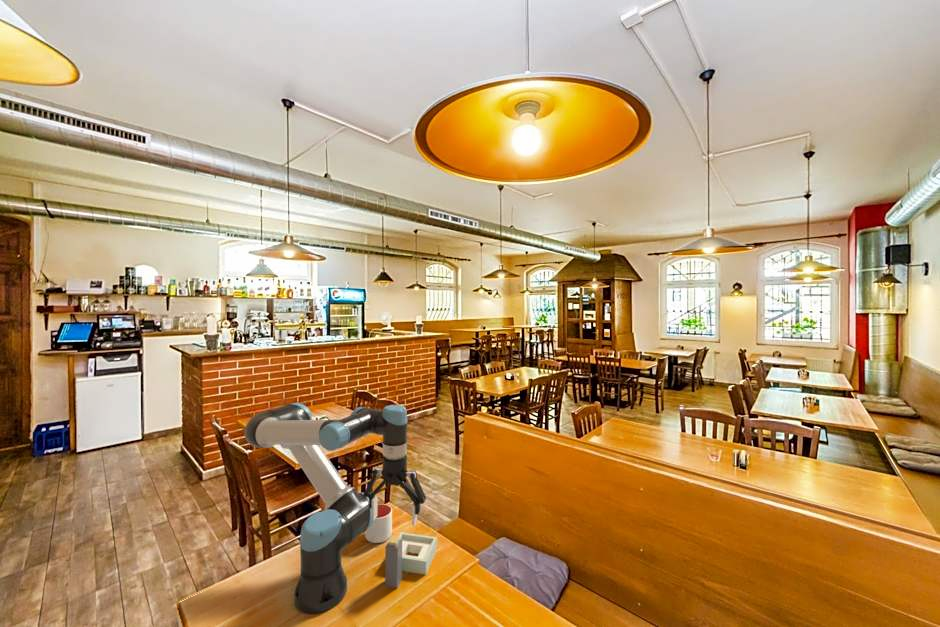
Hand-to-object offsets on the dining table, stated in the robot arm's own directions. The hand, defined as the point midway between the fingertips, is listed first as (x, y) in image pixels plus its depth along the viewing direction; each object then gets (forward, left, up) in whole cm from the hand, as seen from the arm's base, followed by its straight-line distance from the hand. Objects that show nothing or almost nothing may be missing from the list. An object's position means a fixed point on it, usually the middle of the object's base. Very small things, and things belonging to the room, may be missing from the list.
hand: (394, 520), depth 121 cm
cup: (-15, +21, -21) cm, 33 cm away
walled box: (+2, +12, -20) cm, 24 cm away
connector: (0, 0, -20) cm, 20 cm away
